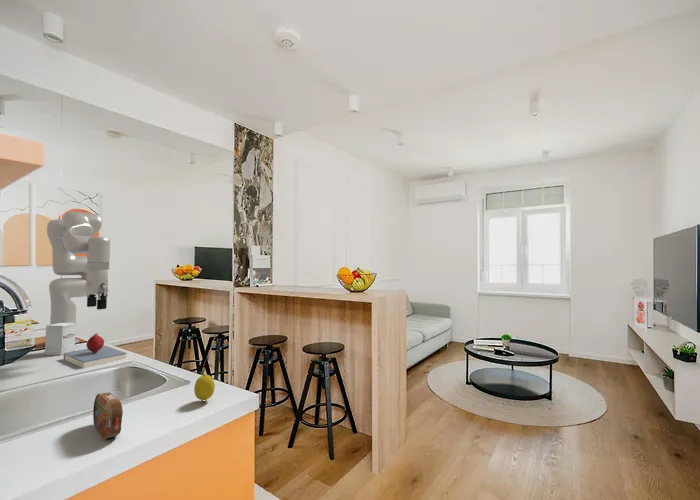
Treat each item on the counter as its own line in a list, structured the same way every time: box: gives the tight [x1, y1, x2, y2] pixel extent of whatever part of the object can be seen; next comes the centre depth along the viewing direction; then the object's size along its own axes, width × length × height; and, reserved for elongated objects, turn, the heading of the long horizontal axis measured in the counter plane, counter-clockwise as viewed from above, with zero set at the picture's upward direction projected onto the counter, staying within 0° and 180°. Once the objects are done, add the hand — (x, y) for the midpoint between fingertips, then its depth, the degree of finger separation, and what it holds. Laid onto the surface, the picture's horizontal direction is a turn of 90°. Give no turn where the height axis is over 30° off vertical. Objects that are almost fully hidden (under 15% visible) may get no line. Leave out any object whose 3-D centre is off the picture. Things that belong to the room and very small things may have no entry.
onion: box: [86, 332, 105, 353], centre depth 143 cm, size 6×6×8 cm
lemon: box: [194, 373, 216, 401], centre depth 102 cm, size 6×6×8 cm
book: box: [63, 345, 127, 369], centre depth 143 cm, size 20×15×3 cm
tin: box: [92, 391, 124, 440], centre depth 84 cm, size 15×3×8 cm, turn 48°
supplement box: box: [44, 322, 77, 356], centre depth 151 cm, size 7×7×13 cm
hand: (96, 307), depth 143 cm, fingers open, 9 cm apart
